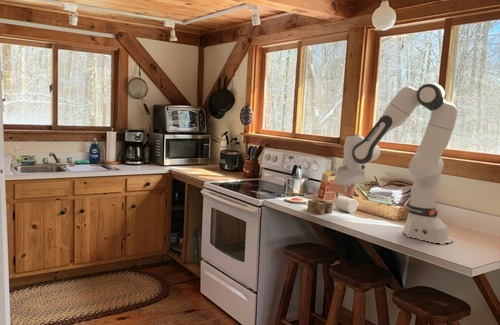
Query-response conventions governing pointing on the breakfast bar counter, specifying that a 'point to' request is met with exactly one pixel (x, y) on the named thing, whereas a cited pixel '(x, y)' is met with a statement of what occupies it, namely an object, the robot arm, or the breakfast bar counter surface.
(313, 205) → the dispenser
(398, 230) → the breakfast bar counter surface
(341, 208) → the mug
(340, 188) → the orange rectangular bar
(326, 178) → the milk carton
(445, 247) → the breakfast bar counter surface
